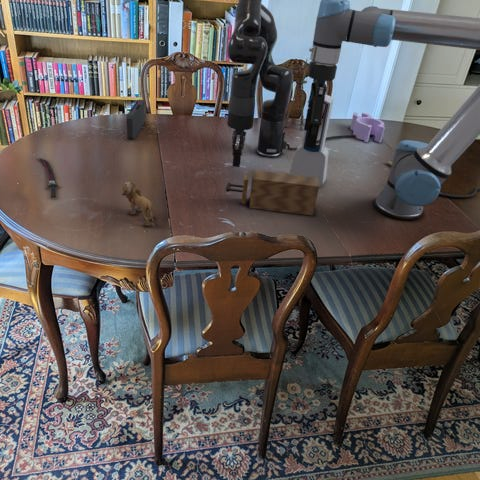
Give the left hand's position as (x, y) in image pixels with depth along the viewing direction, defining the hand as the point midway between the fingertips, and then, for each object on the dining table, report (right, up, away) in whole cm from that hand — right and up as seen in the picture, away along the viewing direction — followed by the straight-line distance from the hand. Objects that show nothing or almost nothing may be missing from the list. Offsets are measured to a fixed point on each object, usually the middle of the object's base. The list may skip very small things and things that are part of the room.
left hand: (236, 166), depth 143 cm
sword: (-61, -2, +8) cm, 62 cm away
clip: (+59, +26, +73) cm, 97 cm away
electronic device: (+25, -2, +24) cm, 35 cm away
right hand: (+21, +7, -7) cm, 24 cm away
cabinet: (+14, -12, +6) cm, 20 cm away
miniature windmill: (+26, +30, +74) cm, 84 cm away
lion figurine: (-28, -16, -7) cm, 33 cm away
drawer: (+9, -11, +6) cm, 15 cm away
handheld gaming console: (-42, +23, +50) cm, 69 cm away
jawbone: (+68, +4, +40) cm, 79 cm away
